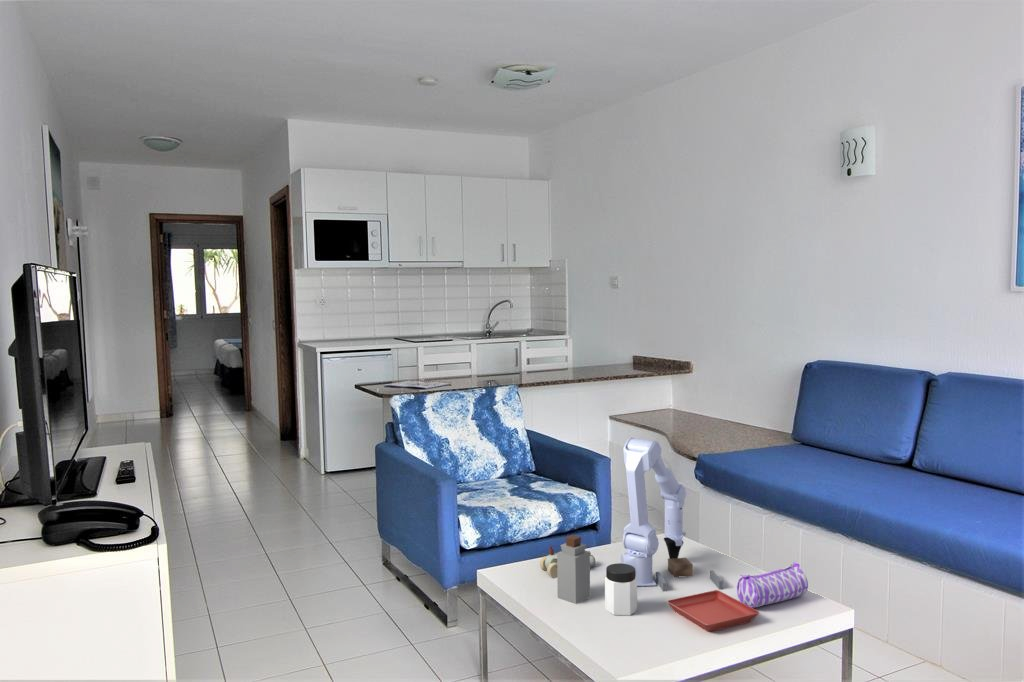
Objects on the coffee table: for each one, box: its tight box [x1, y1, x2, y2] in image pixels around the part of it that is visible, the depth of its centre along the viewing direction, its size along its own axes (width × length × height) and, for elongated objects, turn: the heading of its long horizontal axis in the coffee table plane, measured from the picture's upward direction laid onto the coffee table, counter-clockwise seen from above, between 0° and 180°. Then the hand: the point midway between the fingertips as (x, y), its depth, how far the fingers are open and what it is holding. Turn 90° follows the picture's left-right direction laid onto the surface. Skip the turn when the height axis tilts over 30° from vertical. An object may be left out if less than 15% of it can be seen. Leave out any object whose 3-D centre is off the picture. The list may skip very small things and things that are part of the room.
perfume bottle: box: [556, 534, 591, 605], centre depth 226 cm, size 7×7×18 cm
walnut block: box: [667, 557, 694, 578], centre depth 245 cm, size 6×6×4 cm
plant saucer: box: [666, 589, 760, 632], centre depth 212 cm, size 18×18×3 cm
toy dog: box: [539, 545, 597, 579], centre depth 249 cm, size 12×19×9 cm, turn 134°
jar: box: [604, 562, 638, 617], centre depth 217 cm, size 9×8×12 cm
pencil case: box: [736, 561, 809, 609], centre depth 222 cm, size 22×9×10 cm, turn 120°
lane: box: [655, 569, 723, 592], centre depth 235 cm, size 18×9×2 cm, turn 93°
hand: (673, 560), depth 253 cm, fingers closed
